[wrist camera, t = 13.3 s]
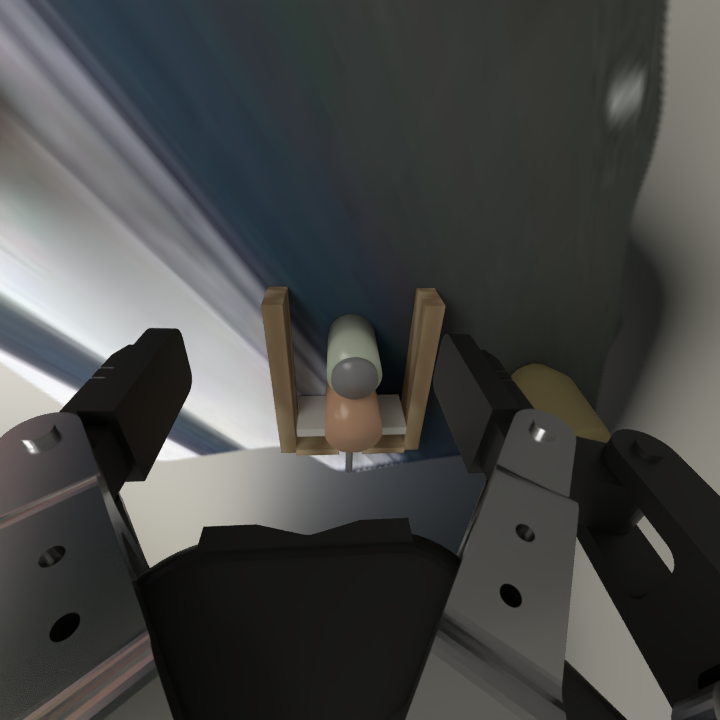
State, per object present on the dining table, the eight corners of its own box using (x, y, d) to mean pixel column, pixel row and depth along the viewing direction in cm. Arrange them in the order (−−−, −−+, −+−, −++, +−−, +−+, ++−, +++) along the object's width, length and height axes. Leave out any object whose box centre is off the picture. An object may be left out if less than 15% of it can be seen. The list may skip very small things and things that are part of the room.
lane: (285, 427, 48) (280, 456, 44) (268, 286, 37) (260, 307, 32) (411, 425, 50) (418, 452, 46) (434, 288, 38) (446, 308, 34)
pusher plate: (305, 462, 52) (303, 497, 48) (300, 396, 45) (296, 429, 40) (390, 459, 53) (395, 493, 49) (398, 394, 46) (406, 427, 41)
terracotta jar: (327, 394, 45) (326, 453, 37) (324, 356, 42) (322, 413, 34) (372, 392, 46) (381, 451, 38) (373, 354, 42) (383, 410, 34)
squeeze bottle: (487, 396, 48) (557, 519, 33) (519, 349, 43) (616, 466, 29) (536, 407, 49) (623, 528, 35) (571, 362, 45) (687, 479, 30)
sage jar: (328, 354, 42) (326, 402, 35) (327, 313, 39) (326, 357, 32) (372, 354, 42) (380, 402, 35) (376, 314, 39) (385, 358, 32)
